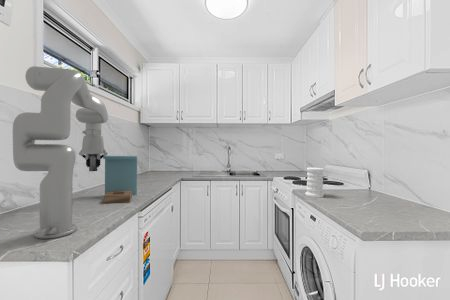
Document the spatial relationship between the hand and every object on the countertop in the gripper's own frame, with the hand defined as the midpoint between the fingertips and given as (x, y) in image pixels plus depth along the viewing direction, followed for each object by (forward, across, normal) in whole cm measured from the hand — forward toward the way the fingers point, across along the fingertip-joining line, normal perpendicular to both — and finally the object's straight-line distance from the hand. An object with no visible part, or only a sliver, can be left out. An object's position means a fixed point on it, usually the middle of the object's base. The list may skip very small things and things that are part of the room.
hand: (93, 166), depth 128 cm
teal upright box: (+19, +13, +10) cm, 25 cm away
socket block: (+19, +13, 0) cm, 23 cm away
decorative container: (+19, +134, -16) cm, 136 cm away
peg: (+2, 0, 0) cm, 2 cm away
